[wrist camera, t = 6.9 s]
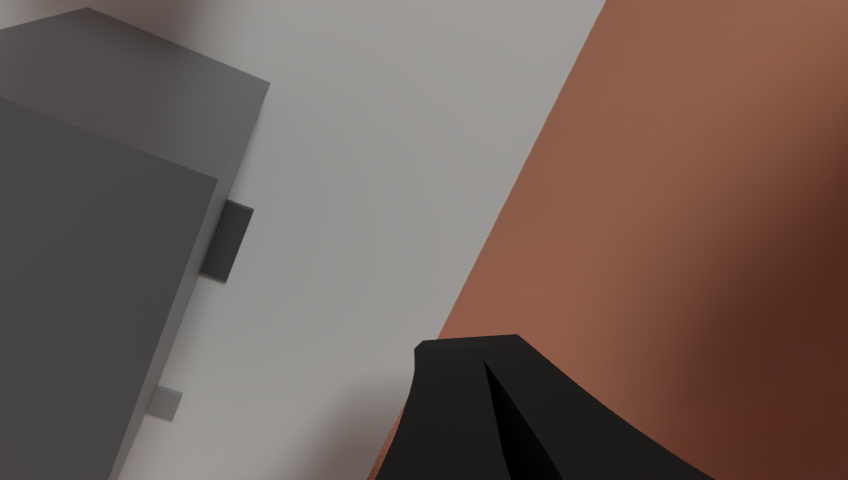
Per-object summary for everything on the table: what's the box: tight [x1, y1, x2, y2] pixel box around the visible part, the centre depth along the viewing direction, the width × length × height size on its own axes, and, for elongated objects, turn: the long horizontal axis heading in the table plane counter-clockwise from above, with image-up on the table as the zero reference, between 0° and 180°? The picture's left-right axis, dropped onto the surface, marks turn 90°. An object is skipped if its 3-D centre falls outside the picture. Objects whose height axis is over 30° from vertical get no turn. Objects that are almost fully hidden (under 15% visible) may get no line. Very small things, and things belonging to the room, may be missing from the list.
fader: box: [0, 7, 270, 480], centre depth 8 cm, size 2×5×4 cm, turn 156°
